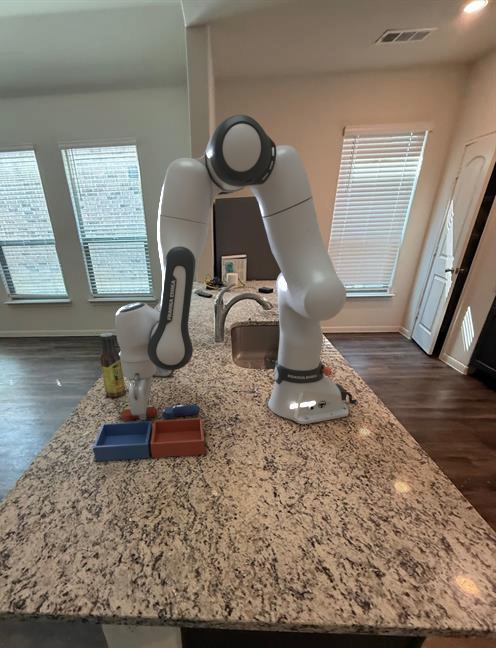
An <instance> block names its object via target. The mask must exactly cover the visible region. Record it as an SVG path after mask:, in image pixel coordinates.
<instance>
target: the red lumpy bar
mask: <svg viewBox="0 0 496 648" xmlns="http://www.w3.org/2000/svg"><path fill="white" fill-rule="evenodd" d="M158 413H159V410H158V409H157V408H156V407H155V406H147V410H146V414H147V418H155V417H156V416H158ZM120 418H121V421H123V422H132V421H133V420H134V419H140V418H139V415H132V414H131V410H130V408H125V409H123V410H121V412H120ZM147 418H146V419H147Z"/></svg>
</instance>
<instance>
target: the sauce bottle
mask: <svg viewBox="0 0 496 648" xmlns="http://www.w3.org/2000/svg"><path fill="white" fill-rule="evenodd" d="M99 340H100V343H101V349H102V350H101V352H100V356H99V361H100V368H101V373H102V378H103V385H104V390H105V394H106V396H107V397H109V398H118V397H121V396H123V395H124V394H125V393H126V383H125V377H124V376H123V373H122V367H121V360H120V353H119V352H118V350H117V348H116V344H115V335H114V333H113V332H103V333H101V334H100V335H99Z"/></svg>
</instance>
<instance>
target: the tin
mask: <svg viewBox="0 0 496 648" xmlns="http://www.w3.org/2000/svg"><path fill="white" fill-rule="evenodd" d="M175 371H176V370H164V369H161V368H159V367H157V366H156V373H155V374H154V375H153V376H152V377H157V378H158V377H160V378H168V377H171V376H172V375H173V374H174V372H175Z"/></svg>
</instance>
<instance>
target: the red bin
mask: <svg viewBox="0 0 496 648" xmlns="http://www.w3.org/2000/svg"><path fill="white" fill-rule="evenodd" d="M205 445H206V444H205V434H204V425H203V418H202V417H196V418H195V417H194V418H177V419H176V418H175V419H163V420H162V419H161V420H153V424H152V437H151V451H150V453H151V458H155V459H156V458H167V457H168V458H170V457H184V456H186V457H187V456H200V455H205V454H206V450H205V449H206V448H205Z"/></svg>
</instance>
